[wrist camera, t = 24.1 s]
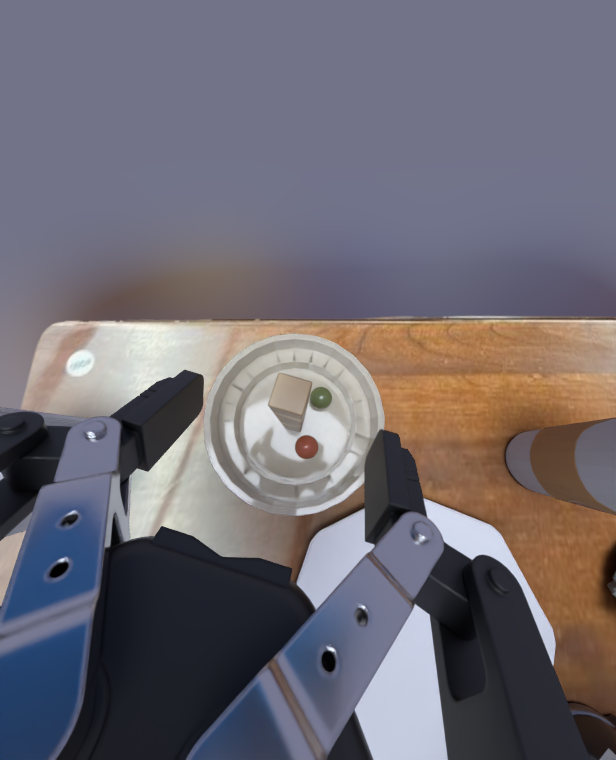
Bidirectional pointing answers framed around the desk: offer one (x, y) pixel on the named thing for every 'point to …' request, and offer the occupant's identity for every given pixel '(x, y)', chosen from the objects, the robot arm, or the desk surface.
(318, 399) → the bead olive
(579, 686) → the desk surface
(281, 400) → the stick
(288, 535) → the desk surface
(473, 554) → the plate
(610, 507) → the coffee cup
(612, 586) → the stone
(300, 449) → the bead terracotta
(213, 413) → the bowl
